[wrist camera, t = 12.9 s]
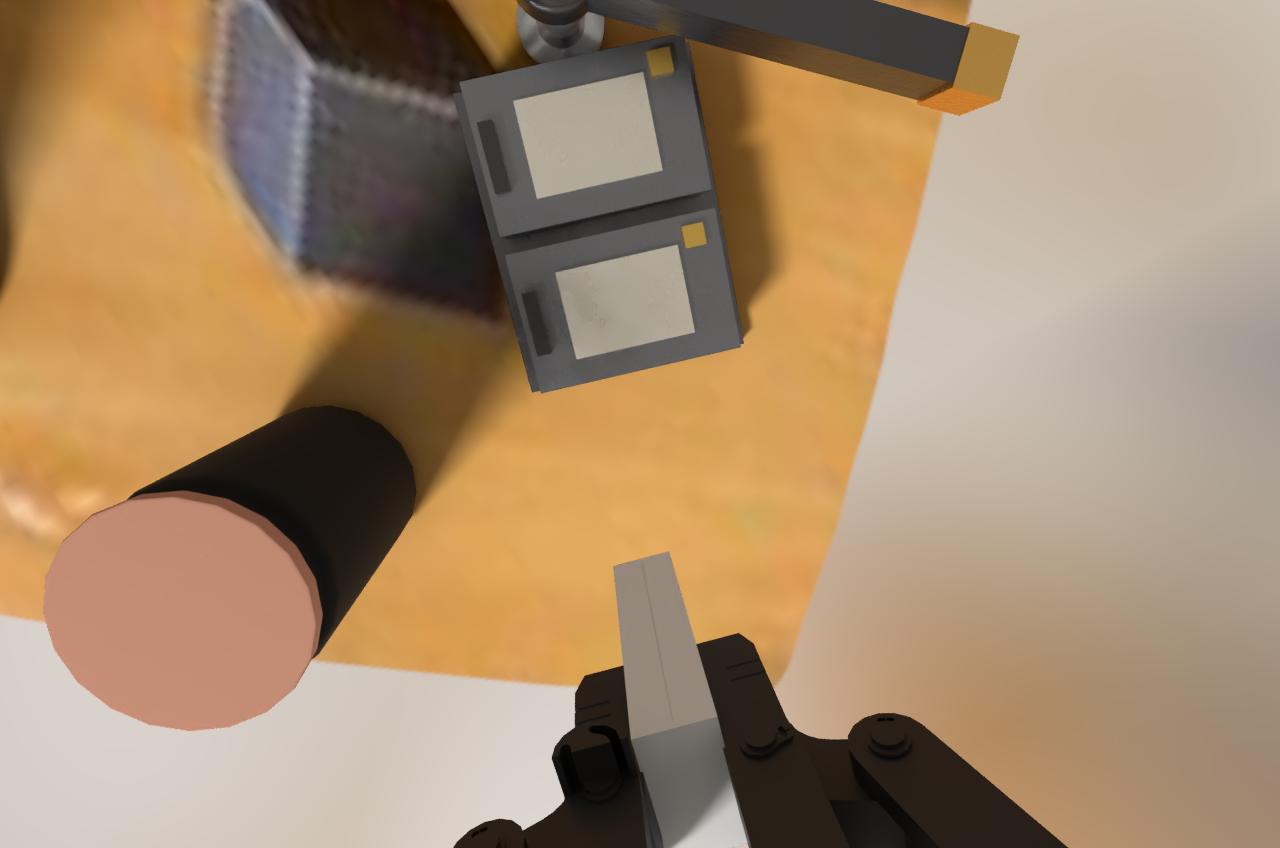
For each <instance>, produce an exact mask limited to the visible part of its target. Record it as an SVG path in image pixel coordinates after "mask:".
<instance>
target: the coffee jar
mask: <svg viewBox="0 0 1280 848" xmlns="http://www.w3.org/2000/svg"><path fill="white" fill-rule="evenodd" d="M415 496H416V486H415V480H414V474H413V467H412V465H411V463H410V461H409V459H408V457H407V456H406V454H405V452H404V450H403V448H402V446H401V444H400V443H399V442H398V441H397V440H396V439H395V438H394V437H393V436H392V435H391V434H390V433H389V432H388V431H387V430H386V429H385V428H384V427H383V426H382V425H381V424H379V423H377V422H375V421H373V420H372V419H370V418H368V417H366V416H364V415H362V414H361V413H359V412H356V411H352V410H347V409H342V408H338V407H333V406H323V407H310V408H302V409H300V410H297V411H295V412H293V413H290V414H288V415H285V416H283V417H280V418H278V419H276V420H274V421H272V422H270V423H268V424H267V425H265V426H263V427H261V428H259V429H257V430H255V431H253V432H251V433H249V434H247V435H245V436H243V437H241V438H239V439H237V440H235V441H233V442H231V443H230V444H228V445H226V446H224V447H222V448H220V449H218V450H216V451H214V452H212V453H210V454H208V455H206V456H204V457H202V458H200V459H198V460H196V461H195V462H193V463H191V464H189V465H187V466H185V467H183V468H181V469H179V470H177V471H175V472H173V473H171V474H169V475H167V476H165V477H163V478H161V479H159V480H158V481H156V482H154V483H152V484H150V485H148V486H146V487H144V488H142V489H140V490H138V491H136V492H135V493H134V494H133V495H131V496H130V497H129V498H128V499H127V500H126V501H124V502H121V503H119V504H116V505H114V506H112V507H109V508H107V509H104V510H102V511H100V512H97V513H95V514H92V515H91V516H90V517H89V518H88V519H87V520H86V521H85V522H83V523H82V524H81V525H80V526H79V527H78V528H77V529H76V530H75V531H74V532H72V533H71V534H70V535H69V536H68V537H67V538H66V539H65V540H64V541H63V542H62V544H61V546H60V548H59V550H58V552H57V554H56V556H55V558H54V560H53V562H52V564H51V566H50V568H49V570H48V572H47V574H46V578H45V593H44V608H43V614H44V617H45V621H46V624H47V627H48V630H49V633H50V637H51V640H52V643H53V647H54V650H55V651H56V653H57V654H58V655H59V657H60V658H61V660H62V661H63V662H64V664H65V665H66V667H67V668H68V669H69V671H70V672H71V673H72V675H73V676H74V678H75V679H76V681H77V682H78V683H79V684H80V685H82V686H83V687H84V688H86V689H87V690H88V691H90V692H91V693H92V694H93V695H94V696H96V697H97V698H98V699H100V700H101V701H102V702H103V703H105V704H106V705H107V706H109V707H110V708H112V709H114V710H116V711H118V712H121V713H123V714H125V715H128V716H130V717H133V718H135V719H137V720H139V721H142V722H144V723H147V724H149V725H155V726H161V727H167V728H174V729H180V730H187V731H195V730H205V729H214V728H224V727H231V726H233V725H236V724H238V723H241V722H243V721H246V720H248V719H251V718H253V717H256V716H258V715H261V714H263V713H265V712H267V711H268V710H269V709H271V708H272V707H273V706H274V705H275V704H277V703H278V702H279V701H280V700H281V699H283V698H284V697H285V696H286V695H287V694H289V693H290V692H291V691H292V690H293V689H294V688H295V687H296V685H297V684H298V682H299V680H300V678H301V677H302V675H303V673H304V672H305V670H306V668H307V666H308V665H309V663H310V661H311V660H312V659H313V658H315V657H316V656H317V655H318V654H319V653H320V651H321V650H322V649H323V647H324V646H325V644H326V643H327V641H328V640H329V638H330V637H331V635H332V634H333V632H334V631H335V630H336V628H337V627H338V625H339V624H340V622H341V621H342V619H343V618H344V616H345V615H346V613H347V612H348V611H349V609H350V608H351V606H352V605H353V603H354V602H355V600H356V599H357V597H358V596H359V594H360V593H361V592H362V590H363V589H364V587H365V586H366V584H367V583H368V581H369V580H370V578H371V577H372V575H373V574H374V573H375V571H376V570H377V568H378V567H379V565H380V564H381V562H382V561H383V559H384V558H385V556H386V555H387V554H388V552H389V551H390V549H391V548H392V546H393V545H394V543H395V542H396V540H397V539H398V537H399V536H400V534H401V533H402V531H403V529H404V528H405V526H406V524H407V523H408V521H409V519H410V517H411V516H412V512H413V506H414V501H415Z"/></svg>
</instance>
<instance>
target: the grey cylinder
mask: <svg viewBox="0 0 1280 848" xmlns="http://www.w3.org/2000/svg"><path fill="white" fill-rule="evenodd" d="M517 28H518V33H519V36H520V39H521V42H522V45H523V47H524V49H525V50H526V52H527V54H528V55H529V56H530V57H531V59H532V60H533V61H534V62H536V63H537V64H538V65H539V64H543V63H548V62H552V61H557V60H561V59H566V58H570V57H575V56H579V55H584V54H588V53H593V52H597V51H599V49H600V47H601V44H602V41H603V36H604V16H601V15H598V14H594V13H590V12H587V13H586V15H584V16H583V17H582V18H580V19H579V20H577V21H575V22H573V23H570V24H567V25H560V26H555V25H548V24H544V23H541V22H539V21H537V20H535V19H534V18H532V17H531V16H529V15H528V14H527V13H526V12H525V11H524V10H523V9H522V8H521V6H520V5H518V9H517Z"/></svg>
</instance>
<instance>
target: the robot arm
mask: <svg viewBox="0 0 1280 848" xmlns="http://www.w3.org/2000/svg"><path fill="white" fill-rule="evenodd" d="M613 567H614V577H615V587H616V597H617V607H618V617H619V627H620V637H621V646H622V656H623V666H620V667H616V668H612V669H609V670H605V671H601V672H597V673H594V674H590V675H586V676H584V678H583V680H582V682H581V683H580V685H579V687H578V689H577V691H576V693H575V711H576V713H575V728H574V729H572V730H571V731H570V732H568V733H567V734H565V735H564V736H563V737H562V738H561V740H560V741H559V742H558V743H557V745H556V746H555V748H554V752H553V755H552V761H553V763H554V767H555V769H556V772H557V775H558V779H559V781H560V784H561V787H562V790H563V794H564V797H565V800H564V802H563V803H562V804H561V805H560V806H559V807H558V808H557V809H556V810H555V811H554V812H553V813H551V814H550V815H548V816H547V817H546V818H544V819H543V820H541V821H539V822H537V823H536V824H534V825H532V826H530V827H528V828H527V829H525V830H523V831H522V829H521V826H519V825H518V824H516V823H515V822H514V821H512V820H505V819H496V820H492V821H488V822H484V823H482V824H480V825H479V826H477V827H475V828H473V829H471V830H470V831H468V832H467V834H465V835H464V836H463V837H462V838H461V839H460V840H459V841H458V842H457V843H456V844H455V846H454V848H735V847H739V846H742V845H746V844H748V846H749V848H1068V847H1067V846H1065V845H1064V844H1063V843H1062V842H1061V841H1060V840H1058V839H1057V838H1056V837H1055V836H1054V835H1052V834H1051V833H1050V832H1049V831H1047V830H1046V829H1045V828H1044V827H1043V826H1042V825H1041V824H1039V823H1038V822H1037V821H1036V820H1034V819H1033V818H1032V817H1031V816H1030V815H1028V813H1026V812H1025V811H1024V810H1023V809H1022V808H1020V807H1019V806H1018V805H1017V804H1015V802H1013V801H1012V800H1011V799H1010V798H1008V797H1007V796H1006V795H1005V794H1004V793H1003V792H1001V791H1000V790H999V789H998V788H997V787H996V786H994V785H993V784H992V783H991V782H990V781H989V780H987V779H986V778H985V777H984V776H983V775H981V774H980V773H979V772H978V771H977V770H975V769H974V768H973V767H972V766H971V765H969V764H968V763H967V762H966V761H965V760H964V759H962V758H961V757H960V756H959V755H958V754H957V753H955V752H954V751H953V750H952V749H951V748H949V747H948V746H947V745H946V744H945V743H943V742H942V741H941V740H940V739H939V738H938V737H936V736H935V735H934V734H933V733H932V732H931V731H929V730H928V729H927V728H926V727H925V726H923V725H922V724H920V723H919V722H917V721H915V720H914V719H912V718H910V717H907V716H903V715H899V714H895V713H881V714H880V713H878V714H875V715H872V716H868V717H865V718H863V719H862V720H861V721H859V722H858V723H856V724H855V725H854V726H853V728H852V729H851V731H850V733H849V735H848V739H841V740H829V739H818V738H814V737H810V736H807V735H805V734H803V733H801V732H799V731H797V730H796V729H795V728H794V727H793V725H792V724H790V723H789V721H788V720H787V718H786V716H785V714H784V712H783V709H782V707H781V705H780V702H779V700H778V698H777V696H776V693H775V691H774V689H773V687H772V684H771V682H770V680H769V678H768V675H767V674H766V671H765V669H764V666H763V664H762V662H761V660H760V657H759V655H758V653H757V650H756V648H755V646H754V644H753V643H752V642H751V641H749V640H748V639H746V638H745V637H744V636H742V635H741V634H739V633H737V634H733V635H730V636H726V637H722V638H718V639H715V640H711V641H707V642H703V643H700V644H696V642H695V638H694V635H693V632H692V628H691V625H690V621H689V618H688V615H687V611H686V608H685V604H684V601H683V598H682V594H681V591H680V587H679V584H678V580H677V577H676V574H675V570H674V567H673V563H672V560H671V557H670V553H669V552H665V553H661V554H657V555H654V556H650V557H646V558H642V559H638V560H635V561H631V562H627V563H623V564H619V565H616V566H613Z"/></svg>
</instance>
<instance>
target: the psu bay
mask: <svg viewBox="0 0 1280 848" xmlns="http://www.w3.org/2000/svg"><path fill="white" fill-rule="evenodd" d="M459 83H460V86H461V90H462V92H460V93H455V94H453V97H454V101H455V104H456V108H457V112H458V116H459V119H460V123H461V127H462V131H463V135H464V138H465V142H466V146H467V150H468V153H469V157H470V161H471V165H472V168H473V172H474V176H475V180H476V183H477V187H478V191H479V195H480V198H481V202H482V206H483V210H484V214H485V217H486V221H487V225H488V229H489V232H490V236H491V240H492V244H493V247H494V251H495V255H496V259H497V262H498V266H499V270H500V274H501V278H502V281H503V285H504V289H505V293H506V296H507V300H508V304H509V308H510V311H511V315H512V319H513V323H514V326H515V330H516V334H517V338H518V342H519V345H520V349H521V353H522V357H523V360H524V364H525V368H526V372H527V375H528V379H529V383H530V387H531V390H532V392H536V391H541V393H545V392H549V391H554V390H558V389H562V388H566V387H571V386H575V385H579V384H584V383H588V382H592V381H597V380H601V379H605V378H610V377H614V376H618V375H623V374H627V373H631V372H636V371H640V370H644V369H649V368H653V367H657V366H662V365H666V364H670V363H675V362H679V361H683V360H688V359H692V358H696V357H701V356H705V355H709V354H714V353H718V352H722V351H727V350H731V349H735V348H740V347H741V346H740V344H744V342H743V336H742V331H741V325H740V320H739V314H738V309H737V303H736V298H735V292H734V287H733V282H732V276H731V271H730V265H729V260H728V254H727V249H726V243H725V238H724V232H723V227H722V221H721V216H720V210H719V205H718V199H717V194H716V188H715V183H714V177H713V172H712V166H711V161H710V156H709V150H708V145H707V139H706V134H705V128H704V123H703V117H702V112H701V106H700V101H699V95H698V90H697V84H696V79H695V73H694V68H693V62H692V57H691V51H690V46H689V42H685V41H684V37H680V36H676V35H669V36H665V37H660V38H656V39H651V40H647V41H642V42H638V43H633V44H629V45H624V46H620V47H615V48H611V49H606V50H602V51H597V52H593V53H588V54H584V55H579V56H575V57H570V58H566V59H561V60H557V61H552V62H548V63H543V64H539V65H534V66H530V67H525V68H521V69H516V70H512V71H507V72H503V73H498V74H494V75H489V76H485V77H480V78H476V79H471V80H467V81H462V82H459Z"/></svg>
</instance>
